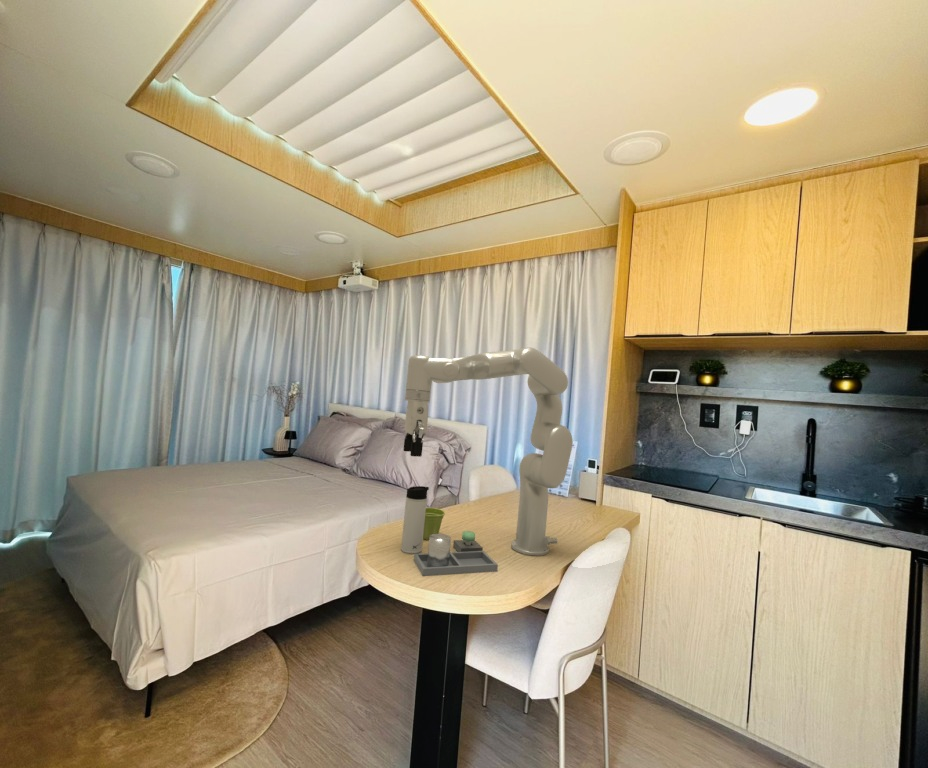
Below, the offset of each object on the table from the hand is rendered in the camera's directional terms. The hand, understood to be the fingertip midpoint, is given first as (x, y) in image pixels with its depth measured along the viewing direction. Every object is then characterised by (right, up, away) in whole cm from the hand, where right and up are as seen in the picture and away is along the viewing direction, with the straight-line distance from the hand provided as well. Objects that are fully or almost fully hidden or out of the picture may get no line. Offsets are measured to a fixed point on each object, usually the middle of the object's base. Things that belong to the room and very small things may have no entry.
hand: (412, 453), depth 120 cm
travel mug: (0, -30, +1) cm, 30 cm away
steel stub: (+8, -30, -9) cm, 32 cm away
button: (+17, -30, +4) cm, 35 cm away
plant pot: (+4, -31, +16) cm, 35 cm away
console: (+16, -32, +4) cm, 36 cm away
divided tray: (+13, -31, -8) cm, 34 cm away
